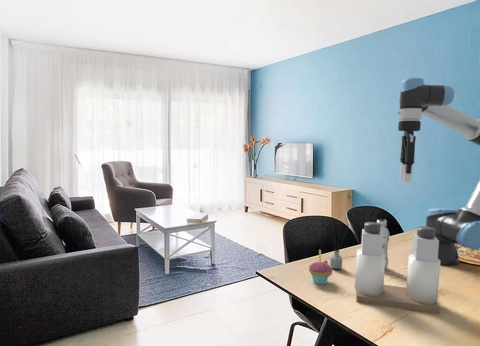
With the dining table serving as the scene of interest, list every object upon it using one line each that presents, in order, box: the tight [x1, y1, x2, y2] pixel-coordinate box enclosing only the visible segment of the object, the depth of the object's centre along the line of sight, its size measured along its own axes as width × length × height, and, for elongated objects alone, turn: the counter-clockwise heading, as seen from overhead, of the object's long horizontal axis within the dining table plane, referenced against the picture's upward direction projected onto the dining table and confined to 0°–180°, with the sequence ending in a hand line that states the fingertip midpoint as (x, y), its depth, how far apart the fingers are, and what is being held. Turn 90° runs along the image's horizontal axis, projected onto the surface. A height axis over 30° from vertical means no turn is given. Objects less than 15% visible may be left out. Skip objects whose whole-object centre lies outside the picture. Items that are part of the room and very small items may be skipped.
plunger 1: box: [363, 221, 381, 233], centre depth 112 cm, size 5×5×9 cm
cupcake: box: [308, 250, 334, 285], centre depth 124 cm, size 9×8×12 cm
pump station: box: [354, 228, 441, 315], centre depth 111 cm, size 25×12×22 cm, turn 73°
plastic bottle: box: [376, 219, 390, 270], centre depth 137 cm, size 6×7×20 cm
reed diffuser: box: [322, 219, 350, 270], centre depth 136 cm, size 10×7×20 cm
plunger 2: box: [416, 225, 436, 238], centre depth 107 cm, size 5×5×9 cm
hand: (405, 180), depth 129 cm, fingers open, 7 cm apart
